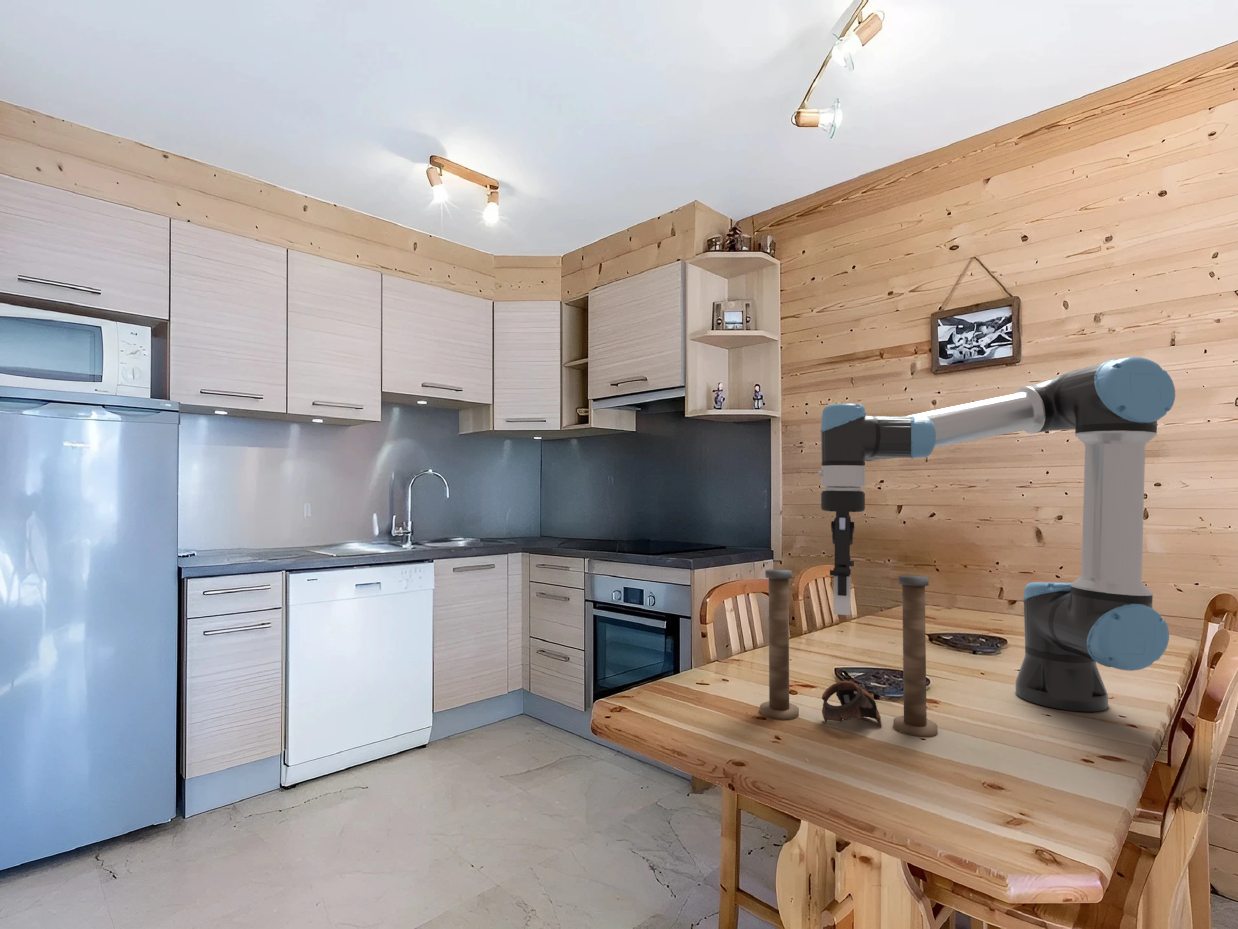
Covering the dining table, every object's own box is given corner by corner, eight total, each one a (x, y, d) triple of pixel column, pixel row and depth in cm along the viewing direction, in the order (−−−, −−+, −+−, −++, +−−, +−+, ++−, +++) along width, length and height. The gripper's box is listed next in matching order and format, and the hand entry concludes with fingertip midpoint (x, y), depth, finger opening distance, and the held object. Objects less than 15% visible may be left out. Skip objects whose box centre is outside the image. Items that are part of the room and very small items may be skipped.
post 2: (935, 724, 114) (933, 575, 115) (940, 739, 108) (938, 580, 108) (892, 719, 117) (890, 573, 117) (894, 733, 110) (892, 578, 111)
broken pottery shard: (893, 736, 110) (874, 697, 109) (841, 757, 112) (821, 719, 110) (871, 696, 122) (853, 660, 120) (824, 715, 123) (806, 680, 122)
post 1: (800, 709, 122) (799, 569, 123) (797, 721, 115) (796, 574, 116) (762, 704, 124) (761, 567, 125) (757, 716, 118) (756, 572, 119)
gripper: (823, 489, 130) (823, 595, 130) (817, 489, 107) (817, 618, 106) (863, 489, 128) (863, 597, 127) (866, 490, 104) (866, 622, 104)
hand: (842, 607), depth 117 cm, fingers open, 13 cm apart
